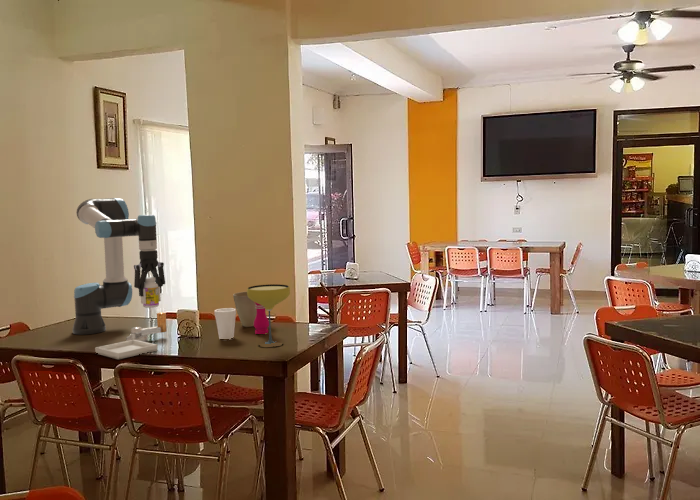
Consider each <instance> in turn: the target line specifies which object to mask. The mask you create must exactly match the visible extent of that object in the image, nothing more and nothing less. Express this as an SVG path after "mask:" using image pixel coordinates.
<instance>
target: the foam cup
mask: <svg viewBox="0 0 700 500" xmlns="http://www.w3.org/2000/svg"><path fill="white" fill-rule="evenodd" d="M236 315H237V310H236V308H233V307H225V308H224V307H223V308H217V309H214V316H215V317H214V318H215V323H216V328H217V333H218V338H219V340H220V339H229V340H232V339H231V338H233V337H234V336H235V326H236ZM233 339H234V338H233Z"/></svg>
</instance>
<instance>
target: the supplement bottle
mask: <svg viewBox="0 0 700 500" xmlns="http://www.w3.org/2000/svg"><path fill="white" fill-rule="evenodd" d="M143 289H145V293H146V304H142V307H143V308H145V309H147V308H148V309H149V308H150V309H151V308H158V307H159V306H160V301H159V295H158V284H157V283H156V282H155V277H153V276H149V277H147V276H146V280H145V284H144V288H143Z"/></svg>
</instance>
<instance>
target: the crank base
mask: <svg viewBox="0 0 700 500" xmlns="http://www.w3.org/2000/svg"><path fill="white" fill-rule="evenodd" d="M125 338H126V339H125V340H126V341H129V340H138V341H143V342H147V343H149V342H148V335H142V336H138V337H135V334H131V333H130V334H129V336H126V337H125Z"/></svg>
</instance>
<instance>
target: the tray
mask: <svg viewBox="0 0 700 500" xmlns="http://www.w3.org/2000/svg"><path fill="white" fill-rule="evenodd" d="M94 350H95V352H96V353H98V354H97V355H101V356H104V357H107V358H112V359H115V360H123V359H127V358H130V357H134V356H139V354H140V355H143V354H142V353H145V354H148V353H147V352H149V353H152V352H157V351H158V344H156V343H151V342H143V341H138V340H129V341H119V342H115V343H111V344H106V345H100V346H96V347H94ZM96 353H95V354H96Z"/></svg>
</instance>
